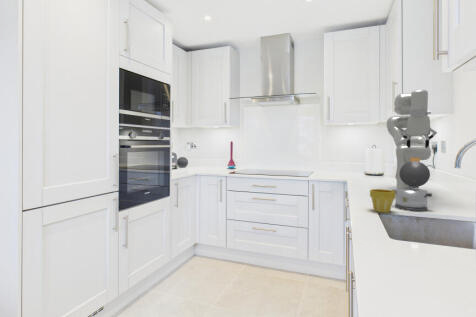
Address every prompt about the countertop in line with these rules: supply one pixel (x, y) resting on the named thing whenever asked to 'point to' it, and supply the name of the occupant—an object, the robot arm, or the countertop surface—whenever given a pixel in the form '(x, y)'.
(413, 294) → the countertop surface
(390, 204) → the plant pot
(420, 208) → the cooker
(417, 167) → the lid
